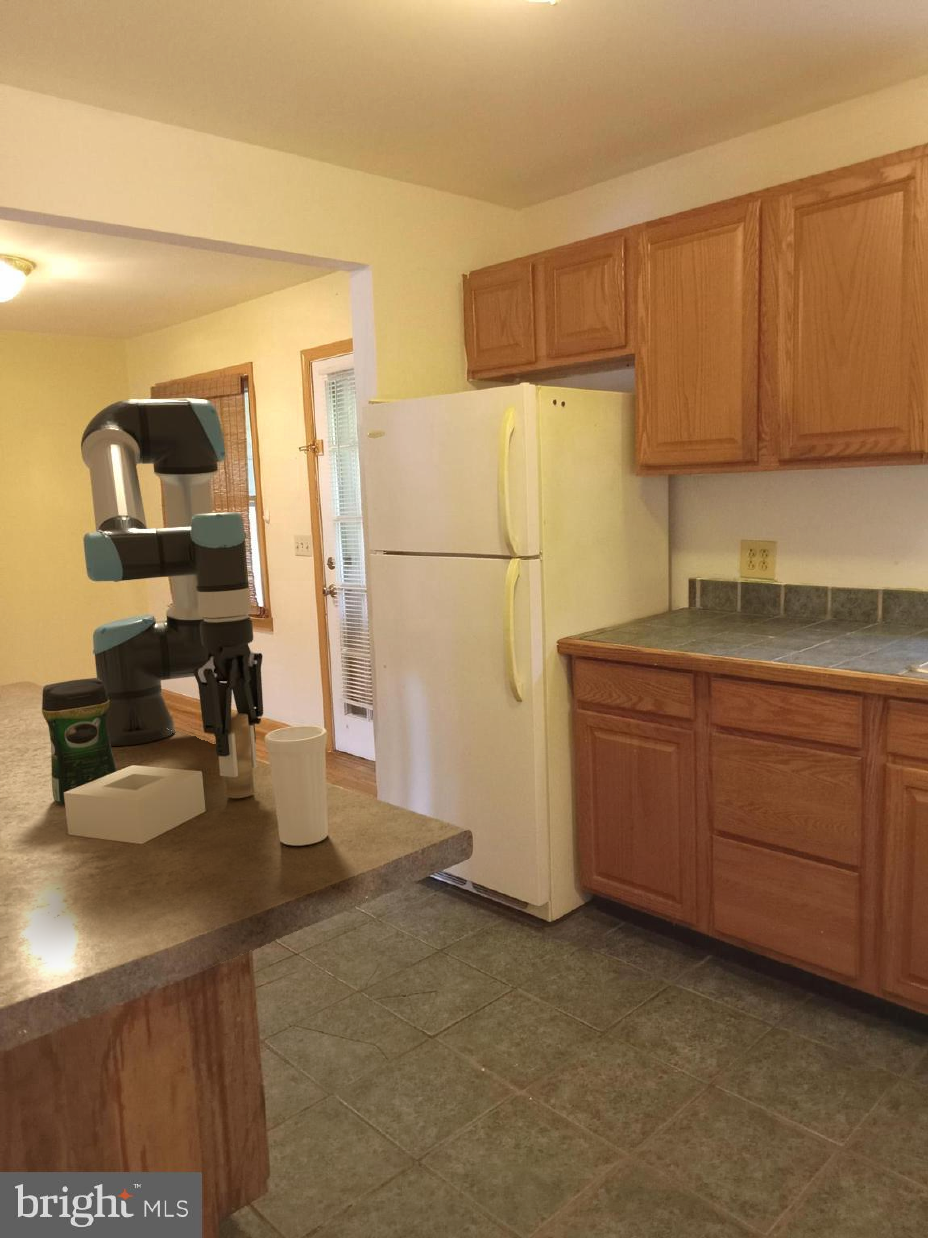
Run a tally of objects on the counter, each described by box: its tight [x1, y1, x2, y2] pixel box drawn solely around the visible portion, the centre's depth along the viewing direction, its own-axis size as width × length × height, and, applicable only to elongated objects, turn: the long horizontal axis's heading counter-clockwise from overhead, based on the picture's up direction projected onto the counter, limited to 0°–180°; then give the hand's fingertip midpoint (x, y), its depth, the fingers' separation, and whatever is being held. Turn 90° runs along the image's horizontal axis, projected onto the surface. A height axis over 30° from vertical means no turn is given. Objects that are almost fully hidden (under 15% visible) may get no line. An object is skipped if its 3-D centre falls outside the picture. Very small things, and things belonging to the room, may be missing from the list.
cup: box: [264, 725, 329, 846], centre depth 118 cm, size 8×8×14 cm
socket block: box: [64, 764, 207, 845], centre depth 128 cm, size 13×13×6 cm
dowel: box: [222, 712, 255, 799], centre depth 136 cm, size 4×4×12 cm
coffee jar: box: [41, 677, 118, 806], centre depth 140 cm, size 10×8×19 cm
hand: (238, 770), depth 137 cm, fingers closed on dowel, 4 cm apart
